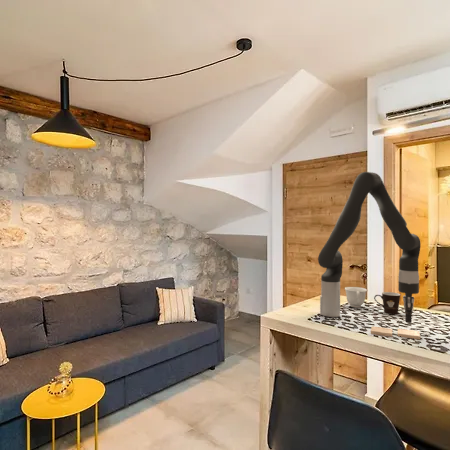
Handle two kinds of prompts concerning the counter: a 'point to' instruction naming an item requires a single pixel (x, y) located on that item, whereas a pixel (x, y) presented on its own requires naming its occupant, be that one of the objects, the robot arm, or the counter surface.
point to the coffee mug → (390, 302)
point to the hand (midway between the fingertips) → (408, 322)
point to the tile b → (409, 333)
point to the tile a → (381, 331)
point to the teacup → (355, 296)
